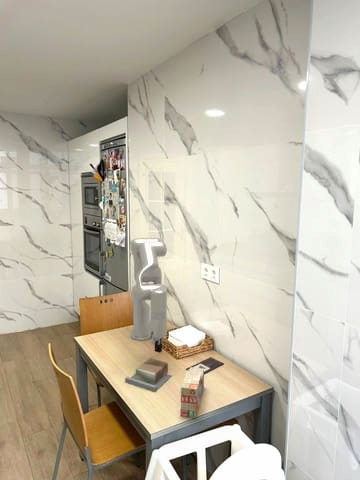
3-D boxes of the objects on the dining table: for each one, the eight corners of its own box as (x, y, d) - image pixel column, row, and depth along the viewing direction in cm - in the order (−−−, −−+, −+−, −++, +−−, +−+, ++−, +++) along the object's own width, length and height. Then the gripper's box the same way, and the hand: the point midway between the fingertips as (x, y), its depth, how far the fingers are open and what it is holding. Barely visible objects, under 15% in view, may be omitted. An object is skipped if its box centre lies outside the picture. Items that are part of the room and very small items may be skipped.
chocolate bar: (224, 363, 173) (199, 376, 161) (224, 365, 174) (199, 377, 161) (210, 357, 180) (186, 368, 168) (210, 358, 180) (186, 370, 168)
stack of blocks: (190, 386, 154) (190, 360, 152) (203, 388, 152) (204, 361, 151) (180, 416, 133) (180, 386, 131) (196, 418, 132) (197, 388, 130)
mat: (143, 367, 169) (143, 363, 169) (172, 376, 162) (172, 372, 161) (125, 382, 156) (125, 378, 155) (155, 392, 148) (155, 387, 148)
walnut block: (150, 357, 168) (135, 368, 157) (167, 362, 163) (154, 374, 153) (150, 367, 168) (135, 379, 158) (167, 372, 164) (154, 385, 153)
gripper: (159, 308, 170) (159, 343, 173) (142, 318, 157) (142, 356, 159) (173, 311, 167) (172, 347, 169) (157, 321, 153) (156, 360, 156)
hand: (158, 351), depth 164 cm, fingers closed
